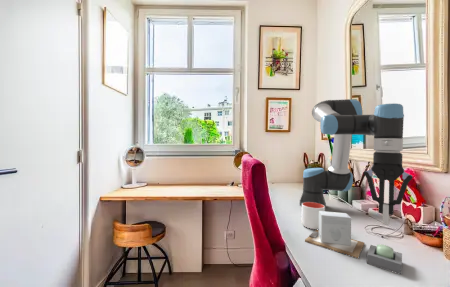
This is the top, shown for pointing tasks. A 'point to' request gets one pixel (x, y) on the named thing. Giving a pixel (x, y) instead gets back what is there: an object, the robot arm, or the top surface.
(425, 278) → the top surface
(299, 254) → the top surface
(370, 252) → the button box
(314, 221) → the cup
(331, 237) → the skincare box
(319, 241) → the clipboard
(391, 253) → the button
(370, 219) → the top surface
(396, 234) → the top surface
